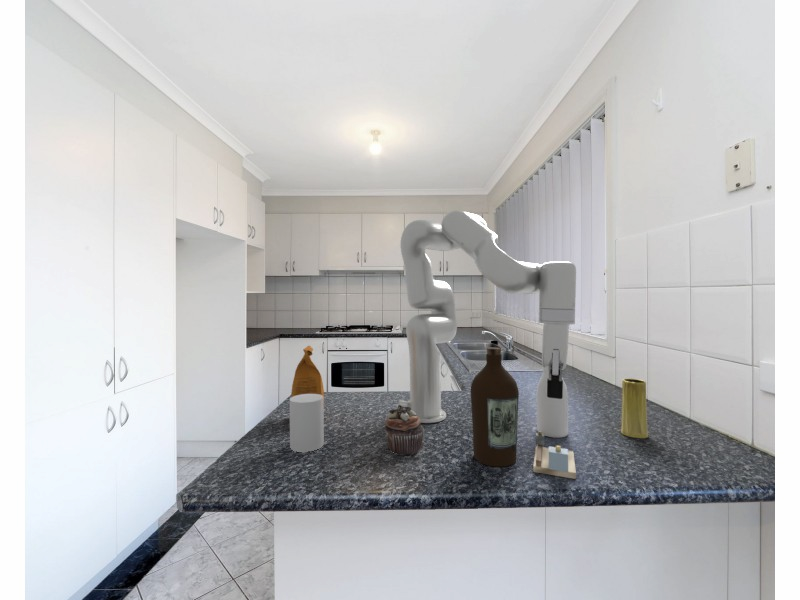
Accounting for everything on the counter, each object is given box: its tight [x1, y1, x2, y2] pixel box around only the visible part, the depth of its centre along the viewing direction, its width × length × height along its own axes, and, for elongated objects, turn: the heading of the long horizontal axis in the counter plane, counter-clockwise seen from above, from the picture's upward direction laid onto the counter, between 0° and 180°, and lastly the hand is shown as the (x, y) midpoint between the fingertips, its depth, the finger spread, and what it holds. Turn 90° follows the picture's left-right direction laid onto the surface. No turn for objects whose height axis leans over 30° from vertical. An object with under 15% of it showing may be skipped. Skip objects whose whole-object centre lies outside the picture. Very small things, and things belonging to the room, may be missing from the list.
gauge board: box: [532, 431, 577, 480], centre depth 79 cm, size 8×11×5 cm
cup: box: [289, 394, 325, 452], centre depth 90 cm, size 8×8×12 cm
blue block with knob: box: [548, 445, 569, 472], centre depth 74 cm, size 4×3×4 cm
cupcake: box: [384, 404, 425, 455], centre depth 88 cm, size 10×10×10 cm
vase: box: [620, 378, 649, 439], centre depth 96 cm, size 6×6×14 cm
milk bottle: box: [536, 364, 569, 439], centre depth 97 cm, size 8×8×20 cm
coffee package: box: [290, 345, 325, 408], centre depth 109 cm, size 10×12×22 cm
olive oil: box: [470, 346, 520, 468], centre depth 82 cm, size 11×11×25 cm
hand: (554, 397), depth 82 cm, fingers closed
